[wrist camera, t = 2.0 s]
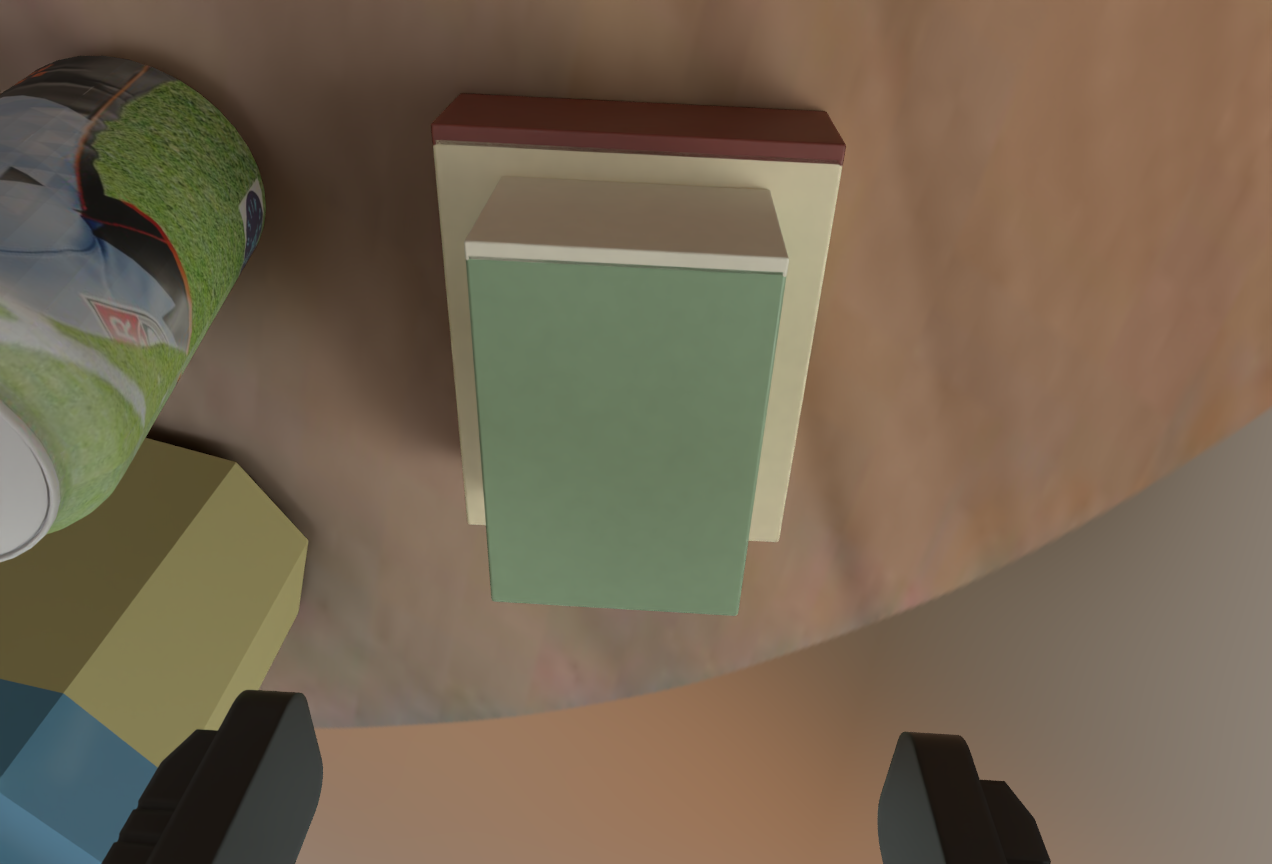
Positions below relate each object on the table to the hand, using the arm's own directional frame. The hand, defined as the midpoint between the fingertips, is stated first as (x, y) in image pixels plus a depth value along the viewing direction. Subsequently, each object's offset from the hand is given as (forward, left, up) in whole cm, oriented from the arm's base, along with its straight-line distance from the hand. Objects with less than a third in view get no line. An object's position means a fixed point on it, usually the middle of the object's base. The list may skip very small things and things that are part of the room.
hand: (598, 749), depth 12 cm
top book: (0, 0, -12) cm, 12 cm away
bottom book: (0, 0, -15) cm, 15 cm away
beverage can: (-3, -12, -15) cm, 19 cm away
